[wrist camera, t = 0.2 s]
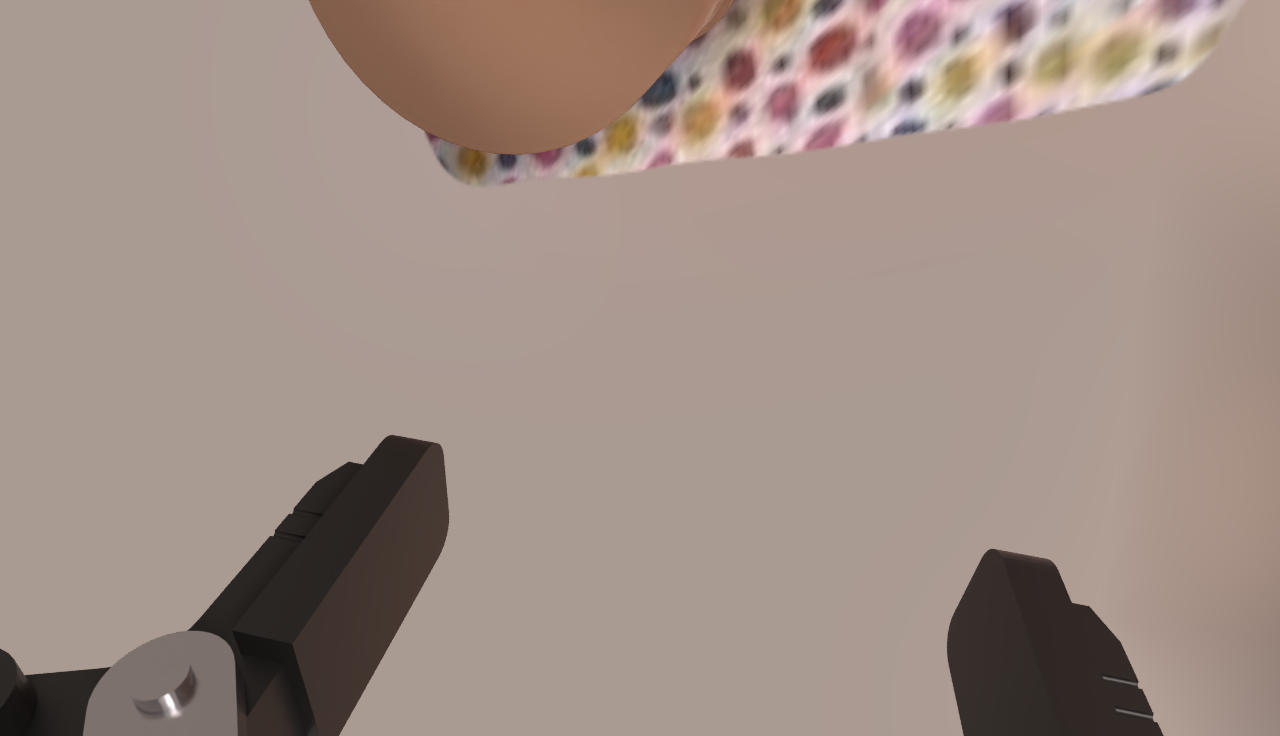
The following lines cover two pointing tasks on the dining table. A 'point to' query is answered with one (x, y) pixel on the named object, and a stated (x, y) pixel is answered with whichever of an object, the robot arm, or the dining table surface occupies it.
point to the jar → (513, 62)
